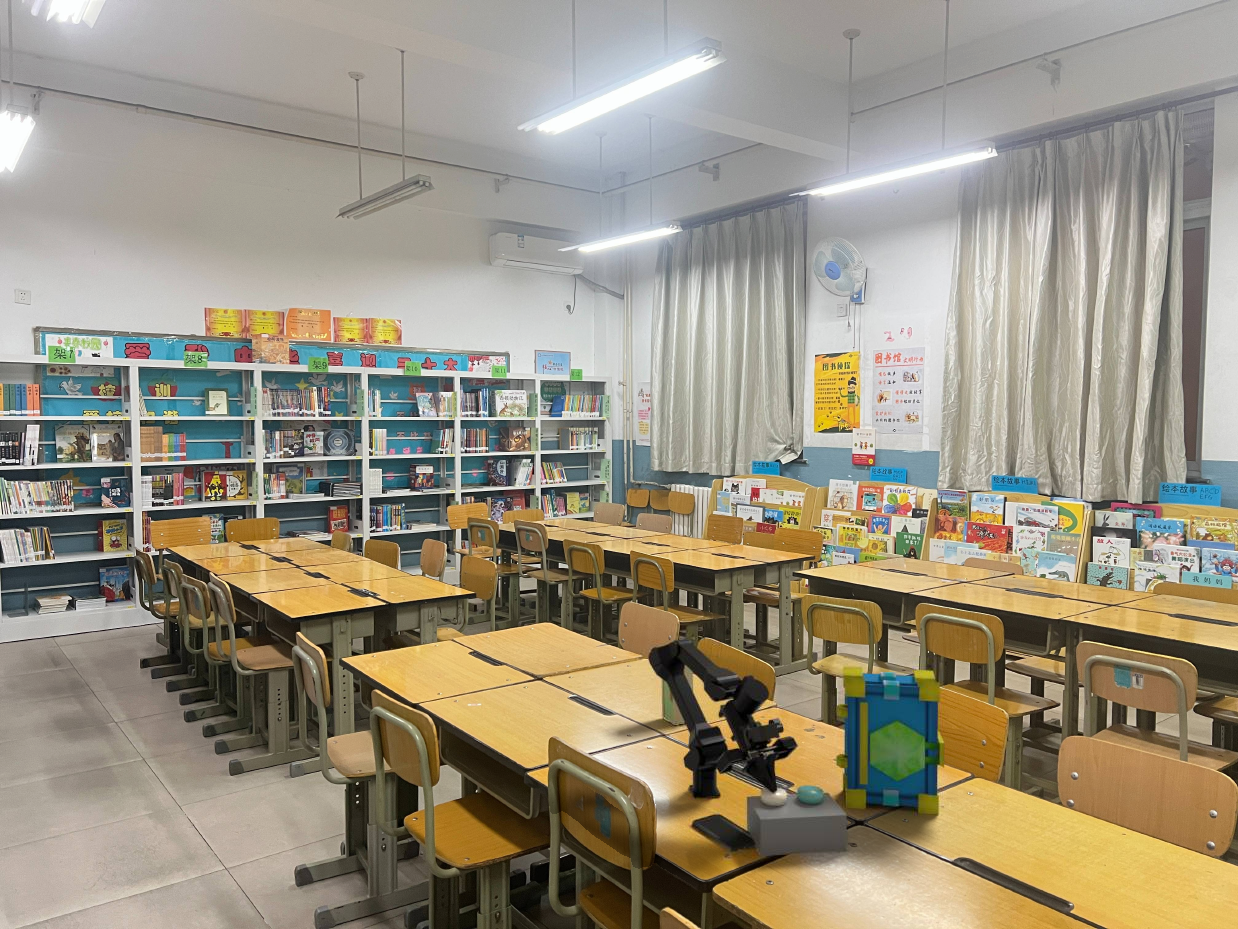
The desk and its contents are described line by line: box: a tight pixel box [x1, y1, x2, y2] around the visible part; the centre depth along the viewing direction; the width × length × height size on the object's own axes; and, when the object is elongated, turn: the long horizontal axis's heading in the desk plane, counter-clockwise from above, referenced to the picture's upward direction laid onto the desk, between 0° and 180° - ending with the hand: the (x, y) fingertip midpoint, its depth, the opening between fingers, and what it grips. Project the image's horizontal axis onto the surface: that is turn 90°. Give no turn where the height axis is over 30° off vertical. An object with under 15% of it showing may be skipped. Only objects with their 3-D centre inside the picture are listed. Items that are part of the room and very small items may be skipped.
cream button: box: [760, 787, 788, 806], centre depth 183 cm, size 5×5×5 cm
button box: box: [746, 792, 848, 857], centre depth 181 cm, size 11×18×8 cm, turn 96°
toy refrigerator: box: [661, 665, 694, 726], centre depth 256 cm, size 8×7×21 cm
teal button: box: [796, 784, 824, 804], centre depth 184 cm, size 5×5×5 cm
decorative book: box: [835, 666, 945, 816], centre depth 199 cm, size 14×23×30 cm, turn 78°
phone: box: [691, 813, 755, 853], centre depth 184 cm, size 8×1×15 cm
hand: (774, 791), depth 182 cm, fingers closed, pressing on cream button
